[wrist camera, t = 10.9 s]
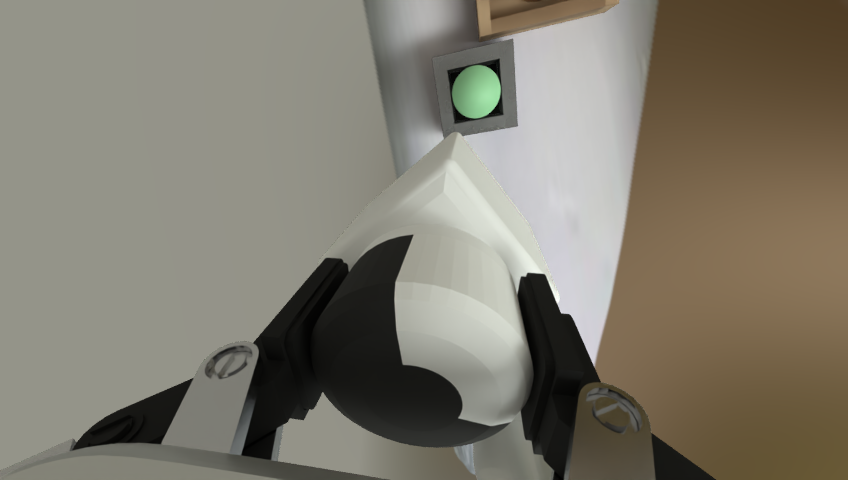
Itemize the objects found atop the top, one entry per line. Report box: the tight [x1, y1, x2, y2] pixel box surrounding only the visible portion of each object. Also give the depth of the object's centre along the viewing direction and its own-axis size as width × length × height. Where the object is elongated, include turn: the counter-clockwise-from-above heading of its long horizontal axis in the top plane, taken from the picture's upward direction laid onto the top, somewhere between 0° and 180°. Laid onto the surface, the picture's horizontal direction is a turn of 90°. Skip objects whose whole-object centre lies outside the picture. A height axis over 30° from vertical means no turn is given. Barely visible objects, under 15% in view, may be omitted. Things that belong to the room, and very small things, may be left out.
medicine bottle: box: [310, 132, 559, 448], centre depth 13 cm, size 7×7×12 cm
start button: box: [452, 65, 501, 118], centre depth 27 cm, size 4×4×4 cm
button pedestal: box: [432, 39, 518, 139], centre depth 29 cm, size 7×7×4 cm
